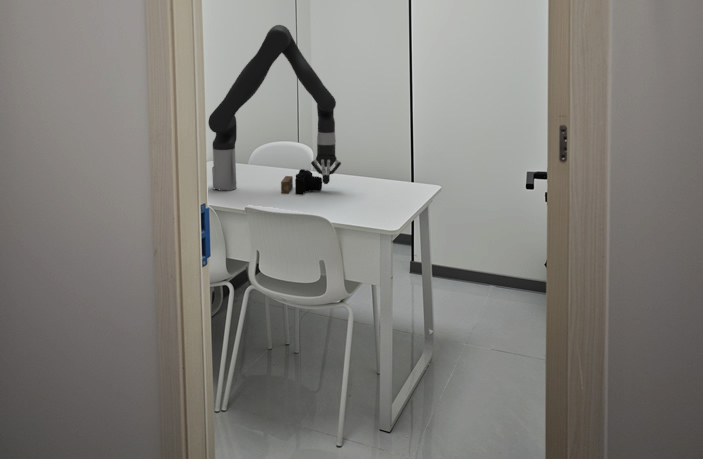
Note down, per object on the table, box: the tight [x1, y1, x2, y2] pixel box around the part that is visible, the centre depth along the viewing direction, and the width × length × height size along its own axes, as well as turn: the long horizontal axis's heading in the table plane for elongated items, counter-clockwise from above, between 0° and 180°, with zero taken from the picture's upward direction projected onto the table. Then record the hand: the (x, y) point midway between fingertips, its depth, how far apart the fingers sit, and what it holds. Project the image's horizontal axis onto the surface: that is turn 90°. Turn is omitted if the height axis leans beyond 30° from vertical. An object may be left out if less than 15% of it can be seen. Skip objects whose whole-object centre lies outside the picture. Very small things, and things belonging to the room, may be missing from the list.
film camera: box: [294, 168, 323, 196], centre depth 308 cm, size 15×10×9 cm, turn 167°
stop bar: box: [280, 175, 294, 195], centre depth 309 cm, size 3×11×5 cm, turn 175°
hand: (326, 183), depth 308 cm, fingers closed
